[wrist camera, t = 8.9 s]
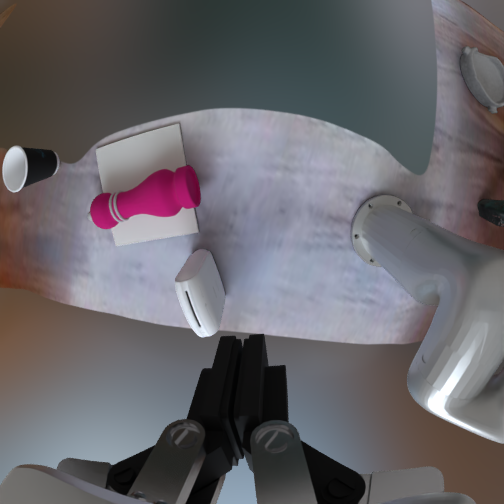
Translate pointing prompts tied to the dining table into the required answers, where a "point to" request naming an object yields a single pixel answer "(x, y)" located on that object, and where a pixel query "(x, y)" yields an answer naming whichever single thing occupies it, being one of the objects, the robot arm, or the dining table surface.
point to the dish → (483, 77)
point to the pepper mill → (148, 198)
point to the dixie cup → (28, 166)
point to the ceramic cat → (492, 211)
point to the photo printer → (201, 293)
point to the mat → (135, 172)
